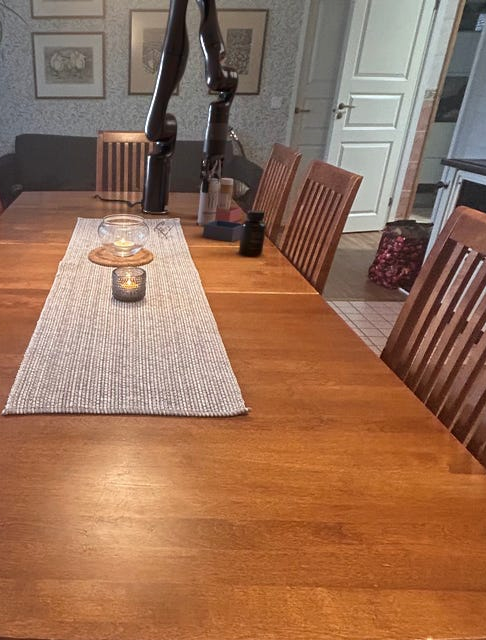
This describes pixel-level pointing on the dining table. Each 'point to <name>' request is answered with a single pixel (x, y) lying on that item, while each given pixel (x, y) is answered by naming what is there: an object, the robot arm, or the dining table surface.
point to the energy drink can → (208, 203)
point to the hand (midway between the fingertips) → (209, 191)
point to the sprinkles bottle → (225, 194)
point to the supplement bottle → (252, 234)
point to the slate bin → (222, 230)
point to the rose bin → (228, 214)
